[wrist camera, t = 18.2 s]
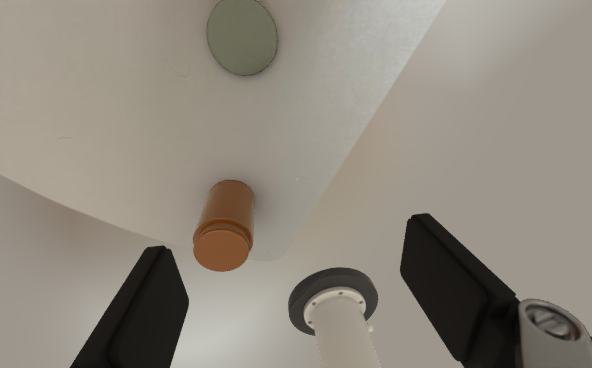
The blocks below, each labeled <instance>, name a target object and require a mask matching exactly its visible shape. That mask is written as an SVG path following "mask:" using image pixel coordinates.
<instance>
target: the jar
mask: <svg viewBox="0 0 592 368" xmlns="http://www.w3.org/2000/svg"><path fill="white" fill-rule="evenodd" d="M254 208H255V197H254V194H253V192H252V190H251V189H250V188H249V187H248V186H247V185H245V184H244V183H242V182H239V181H235V180H227V181H222V182H220V183H218V184H216V185H215V186H214V187H213V188H212V189H211V191H210V193H209V195H208V198H207V201H206V203H205V206H204V209H203V211H202V214H201V217H200V219H199V222H198V225H197V227H196V230H195V233H194V236H193V243H194V249H193V251H194V256H195V258H196V260H197V261H198V262H199V263H200V264H201V265H202V266H203V267H206V268H207V269H210V270H214V271H220V272H221V271H222V272H224V271H230V270H233V269H236V268H238V267H239V266H241V265H242V264H243V263H244V262H245V261H246V259H247V257H248V254H249V252H250V250H251V248H252V245H253V230H254Z"/></svg>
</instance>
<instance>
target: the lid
mask: <svg viewBox="0 0 592 368" xmlns="http://www.w3.org/2000/svg"><path fill="white" fill-rule="evenodd" d="M273 21H274V20H273V19H272V17H271V15H270V14H269V13H268V10H266V9H265V8H264V7H263V6H262V5H261V3H259V2H257V1H256V0H222V1H221V2H220V3H218V4H217V5H216V6H215V8H214V9H213V11H212V12H211V14H210V17H209V20H208V24H207V39H208V44H209V47H210V49H211V52H212V54H213V56H214V57H215V58H216V60H217V61H218V62H219V64H221V65H222V66H223V67H224V68H225V69H227V70H228V71H230V72H232V73H235V74H238V75H244V76H245V75H253V74H256V73H258V72H261V71H262V70H263V69H265V68H266V67H268V65H269V63H270V62H271V60H273V57H274V54H275V51H276V47H277V41H278V40H277V32H276V31H277V30H276V27H275V24H274V22H273Z"/></svg>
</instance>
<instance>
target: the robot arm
mask: <svg viewBox="0 0 592 368" xmlns="http://www.w3.org/2000/svg"><path fill="white" fill-rule="evenodd" d="M400 272H401V276H402V278H403V279H404V281H405V282H406V284H407V286H408V287H409V289H410V290H411V292H412V294H413V295H414V297H415V298H416V300H417V301H418V303H419V304H420V306H421V308H422V309H423V310H424V312H425V314H426V315H427V317H428V319H429V320H430V322H431V323H432V325H433V326H434V328H435V330H436V331H437V332H438V334H439V336H440V337H441V339H442V341H443V342H444V343H445V345H446V347H447V348H448V350H449V351H450V353H451V354H452V356H453V357H454V359H455V360H457V361H460V362H461V363H462V365H463V366H464V368H592V337H591V336H590V335H589V333H588V331H587V329H586V327H585V326H584V325H583V324H582V323H581V322H580V321H579V319H577V318H576V317H575V316H573V315H572V314H571V313H569V312H568V311H567V310H565V309H563V308H561V307H559V306H557V305H555V304H552V303H550V302H548V301H544V300H540V299H526V300H523V301H522V302H520V301H519V300H518V299H517V298H516V297H515V295H516V294H515V293H514V292H513V291H512V290H511V289H510V288H509V287H508V286H507V285H506V284H504V283H503V282H502V281H501V280H500V279H499V278H498V277H497V276H496V275H495V274H494V273H492V272H491V270H489V269H488V268H487V267H486V266H485V265H484V264H483V263H482V262H481V261H480V260H479V259H478V258H476V257H475V256H474V255H473V254H472V253H471V252H470V251H469V250H468V249H467V248H466V247H465V246H463V245H462V244H461V243H460V242H459V241H458V240H457V239H456V238H455V237H453V235H451V234H450V233H449V232H448V231H447V230H446V229H445V228H444V227H443V226H442V225H441V224H440V223H438V222H437V221H436V220H435V219H434V218H433V217H432V216H431V215H430V214H428V213H424V214H416V215H412V217H411V219H408V221H407V226H406V233H405V239H404V246H403V253H402V259H401V266H400ZM188 306H189V298H188V295H187V293H186V290H185V287H184V284H183V282H182V279H181V276H180V273H179V270H178V268H177V265H176V262H175V259H174V257H173V254H172V251H171V250H170V249H166V247H165V246H154V247H148V248H146V249H145V250H144V252H143V253H142V255H141V257H140V258H139V260H138V262H137V263H136V265H135V266H134V268H133V269H132V271H131V272H130V274H129V276H128V277H127V279H126V281H125V282H124V283H123V285H122V287H121V288H120V290H119V291H118V293H117V294H116V296H115V298H114V299H113V300H112V302H111V304H110V305H109V307H108V308H107V310H106V311H105V313H104V315H103V316H102V318H101V319H100V321H99V322H98V324H97V326H96V327H95V329H94V330H93V332H92V333H91V335H90V337H89V338H88V340H87V341H86V343H85V345H84V346H83V348H82V349H81V351H80V352H79V354H78V355H77V357H76V359H75V360H74V362H73V363H72V365H71V367H70V368H170V365H171V362H172V359H173V355H174V352H175V349H176V345H177V342H178V339H179V336H180V332H181V329H182V326H183V323H184V319H185V317H186V313H187V310H188ZM365 310H366V303H365V300H364V298H363V296H362V294H361V293H360V292H358V291H357V290H355V289H353V288H349V287H343V286H339V287H331V288H327V289H324V290H322V291H320V292H318V293H316V294H315V295H313V296H312V297H311V298H310V299H309V300H308V302H307V303H306V305H305V307H304V311H303V313H304V319H305V322H306V324H307V325H308V326H309V327H311V328H312V329H314V330H315V335H316V340H317V345H318V351H319V355H320V361H321V367H322V368H382V367H381V364H380V361H379V359H378V356H377V353H376V351H375V348H374V346H373V343H372V340H371V338H370V334H369V333H368V331H369V332H372V331H373V329H374V328H373V326H372V325H370V324H368V323H366V321H365V318H364V315H363V314H364V312H365Z"/></svg>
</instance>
